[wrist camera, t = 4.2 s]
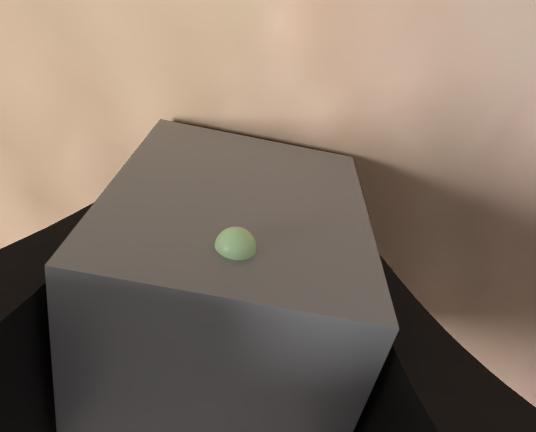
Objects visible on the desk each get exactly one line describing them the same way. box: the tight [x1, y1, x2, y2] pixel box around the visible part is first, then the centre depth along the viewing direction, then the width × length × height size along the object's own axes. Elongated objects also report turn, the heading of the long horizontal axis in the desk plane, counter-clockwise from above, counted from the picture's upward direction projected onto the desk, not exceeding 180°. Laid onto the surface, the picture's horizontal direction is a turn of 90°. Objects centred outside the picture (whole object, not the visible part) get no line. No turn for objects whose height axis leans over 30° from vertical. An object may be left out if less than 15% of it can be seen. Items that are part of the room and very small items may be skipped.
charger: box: [45, 119, 399, 432], centre depth 10 cm, size 4×7×6 cm, turn 169°
